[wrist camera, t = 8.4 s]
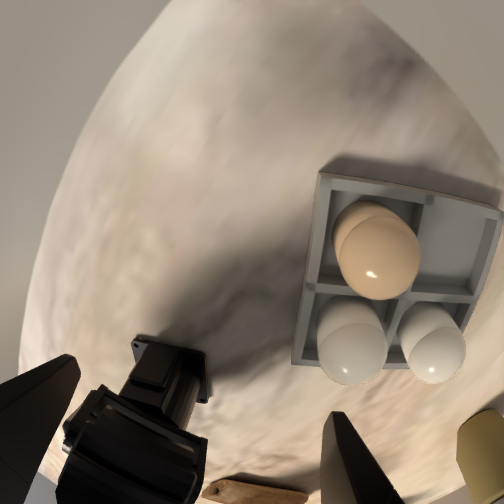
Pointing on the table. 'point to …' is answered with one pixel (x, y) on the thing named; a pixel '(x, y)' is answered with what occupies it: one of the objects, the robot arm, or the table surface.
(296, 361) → the egg carton
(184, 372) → the robot arm
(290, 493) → the stone cup
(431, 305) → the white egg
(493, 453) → the squeeze bottle
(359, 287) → the brown egg
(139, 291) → the table surface
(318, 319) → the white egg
